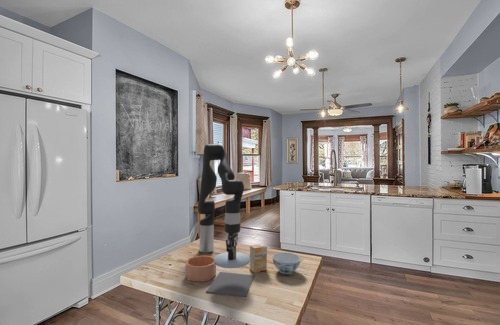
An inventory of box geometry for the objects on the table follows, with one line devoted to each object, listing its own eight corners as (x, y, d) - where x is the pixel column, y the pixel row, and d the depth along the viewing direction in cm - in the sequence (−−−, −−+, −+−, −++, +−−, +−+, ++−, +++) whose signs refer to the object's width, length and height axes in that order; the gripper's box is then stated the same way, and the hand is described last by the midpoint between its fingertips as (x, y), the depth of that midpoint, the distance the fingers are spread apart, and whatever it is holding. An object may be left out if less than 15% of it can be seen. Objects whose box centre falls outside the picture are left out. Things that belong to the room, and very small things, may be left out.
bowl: (193, 267, 133) (193, 254, 133) (219, 269, 130) (219, 256, 130) (180, 279, 118) (180, 265, 118) (209, 283, 115) (209, 268, 116)
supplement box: (253, 273, 127) (254, 248, 127) (249, 269, 131) (249, 245, 131) (267, 270, 131) (267, 246, 131) (262, 266, 135) (262, 243, 135)
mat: (220, 272, 126) (220, 271, 126) (253, 276, 123) (253, 275, 123) (206, 292, 107) (206, 291, 107) (245, 297, 103) (246, 295, 103)
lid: (220, 253, 125) (220, 241, 125) (252, 255, 122) (252, 244, 122) (208, 266, 108) (208, 253, 108) (245, 269, 105) (245, 256, 105)
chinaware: (305, 271, 129) (306, 257, 129) (290, 281, 118) (290, 265, 118) (282, 263, 140) (283, 250, 140) (266, 271, 129) (266, 257, 129)
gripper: (229, 218, 123) (228, 252, 123) (220, 224, 109) (219, 263, 109) (243, 219, 122) (242, 253, 121) (236, 225, 108) (236, 264, 107)
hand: (232, 257), depth 115 cm, fingers closed on lid, 4 cm apart
